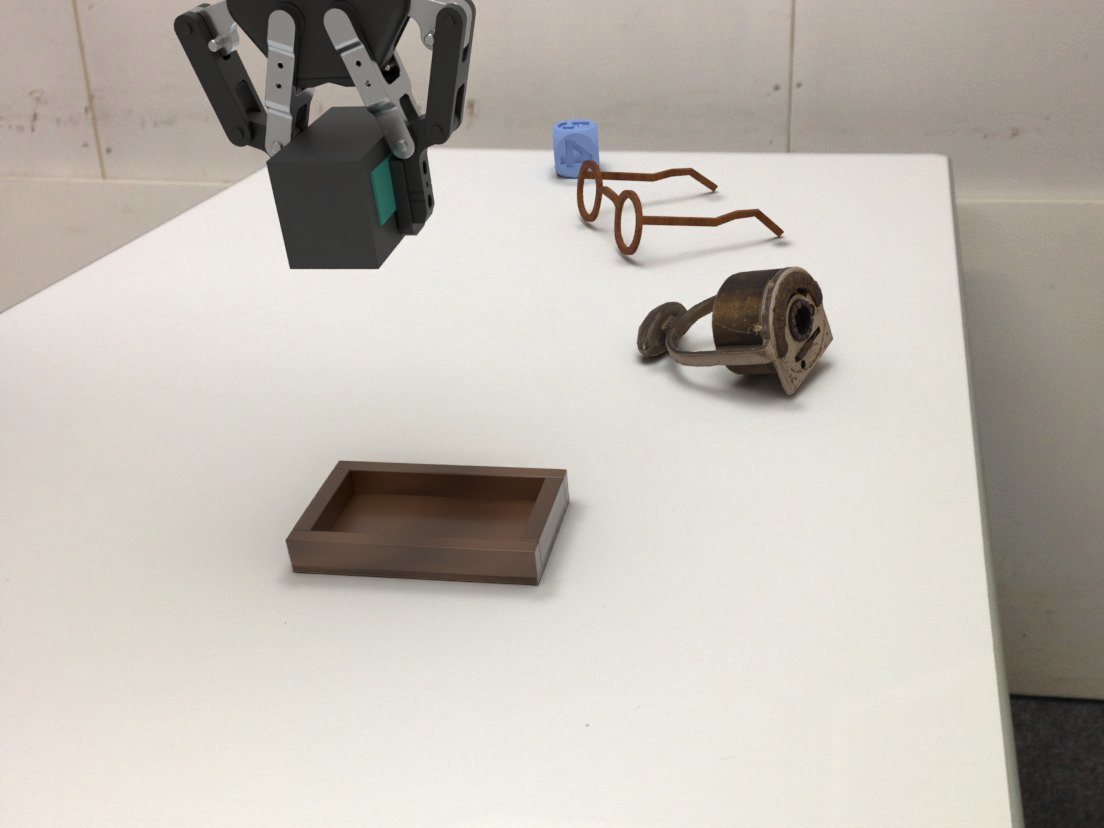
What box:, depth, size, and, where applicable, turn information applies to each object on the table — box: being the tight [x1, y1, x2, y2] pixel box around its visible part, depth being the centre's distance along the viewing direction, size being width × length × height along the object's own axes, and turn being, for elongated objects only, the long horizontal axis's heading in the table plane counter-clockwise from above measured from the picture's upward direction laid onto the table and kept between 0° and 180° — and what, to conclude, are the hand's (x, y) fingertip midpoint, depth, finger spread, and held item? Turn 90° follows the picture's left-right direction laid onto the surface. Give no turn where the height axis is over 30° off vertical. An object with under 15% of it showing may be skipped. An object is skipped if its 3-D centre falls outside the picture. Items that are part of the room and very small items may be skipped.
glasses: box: [576, 160, 785, 256], centre depth 102 cm, size 13×13×5 cm
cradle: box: [285, 460, 570, 586], centre depth 68 cm, size 13×8×2 cm, turn 81°
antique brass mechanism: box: [636, 266, 834, 396], centre depth 81 cm, size 7×13×10 cm
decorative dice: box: [552, 118, 601, 179], centre depth 115 cm, size 4×4×4 cm
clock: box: [265, 105, 406, 270], centre depth 62 cm, size 9×4×5 cm, turn 172°
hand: (364, 228), depth 63 cm, fingers closed on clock, 4 cm apart
